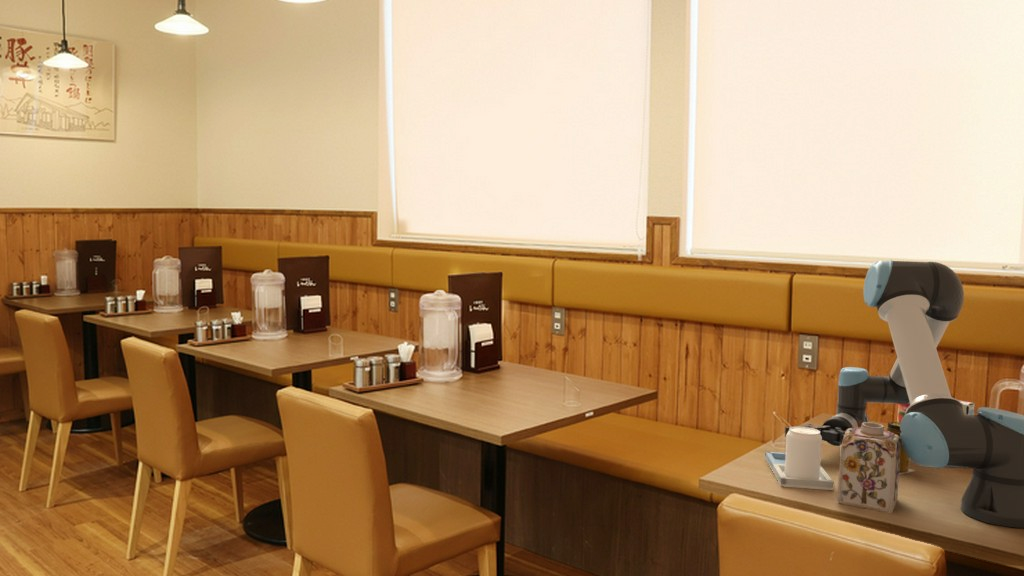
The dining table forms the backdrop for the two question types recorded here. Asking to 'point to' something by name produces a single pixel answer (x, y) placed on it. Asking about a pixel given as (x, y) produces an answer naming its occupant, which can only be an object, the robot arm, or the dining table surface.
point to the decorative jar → (869, 468)
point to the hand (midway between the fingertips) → (813, 445)
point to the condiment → (904, 458)
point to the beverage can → (803, 453)
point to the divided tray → (778, 468)
